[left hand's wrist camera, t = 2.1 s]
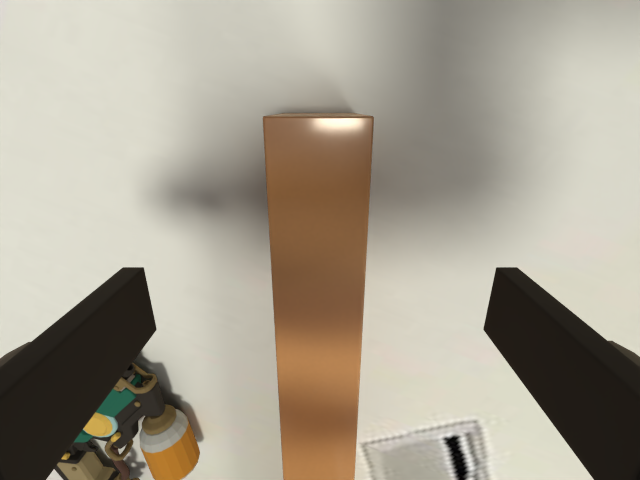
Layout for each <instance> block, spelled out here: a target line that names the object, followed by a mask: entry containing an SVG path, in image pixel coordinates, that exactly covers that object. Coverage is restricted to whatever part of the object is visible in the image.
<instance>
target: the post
mask: <svg viewBox="0 0 640 480" xmlns="http://www.w3.org/2000/svg"><path fill="white" fill-rule="evenodd" d="M373 123H374V118H373V116H368V115H362V114H356V113H282V114H275V115H269V116H264V117H263V131H264V148H265V166H266V183H267V200H268V218H269V235H270V253H271V270H272V288H273V305H274V323H275V340H276V357H277V375H278V392H279V410H280V427H281V445H282V462H283V480H354V476H355V457H356V439H357V420H358V402H359V383H360V364H361V346H362V327H363V309H364V290H365V271H366V253H367V234H368V216H369V197H370V179H371V160H372V141H373Z"/></svg>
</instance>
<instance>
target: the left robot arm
mask: <svg viewBox="0 0 640 480" xmlns="http://www.w3.org/2000/svg"><path fill="white" fill-rule="evenodd" d="M155 331H156V325H155V320H154V315H153V310H152V305H151V301H150V296H149V291H148V286H147V281H146V277H145V272H144V268H122V269H121V270H119V271H118V272H117V273H116V274H114V275H113V276H112V277H111V278H110V279H108V280H107V281H106V282H105V283H103V284H102V285H101V286H100V287H98V288H97V289H96V290H95V291H93V292H92V293H91V294H90V295H89V296H87V297H86V298H85V299H84V300H82V301H81V302H80V303H79V304H77V305H76V306H75V307H74V308H73V309H71V310H70V311H69V312H68V313H66V314H65V315H64V316H63V317H61V318H60V319H59V320H58V321H57V322H55V323H54V324H53V325H52V326H50V327H49V328H48V329H47V330H45V331H44V332H43V333H42V334H41V335H39V336H38V337H37V338H36V339H34V340H33V341H32V342H28V343H26V344H24V345H22V346H20V347H19V348H17V349H15V350H13V351H11V352H9V353H7V354H6V355H4V356H3V357H2V358H1V359H0V480H46V479H47V477H48V476H49V475H50V473H51V472H52V471H53V469H54V468H55V467H56V465H57V464H58V463H59V461H60V460H61V458H62V457H63V456H64V454H65V453H66V452H67V450H68V449H69V448H70V446H71V445H72V444H73V442H74V441H75V439H76V438H77V437H78V435H79V434H80V433H81V431H82V430H83V429H84V427H85V426H86V425H87V423H88V422H89V420H90V419H91V418H92V416H93V415H94V414H95V412H96V411H97V410H98V408H99V407H100V406H101V404H102V403H103V401H104V400H105V399H106V397H107V396H108V395H109V393H110V392H111V391H112V389H113V388H114V387H115V385H116V384H117V382H118V381H119V380H120V378H121V377H122V376H123V374H124V373H125V372H126V370H127V369H128V368H129V366H130V365H131V363H132V362H133V361H134V359H135V358H136V357H137V355H138V354H139V353H140V351H141V350H142V349H143V347H144V346H145V344H146V343H147V342H148V340H149V339H150V338H151V336H152V335H153V334H154V332H155ZM484 331H485V332H486V334H487V335H488V336H489V338H490V339H491V340H492V342H493V343H494V344H495V346H496V347H497V349H498V350H499V351H500V353H501V354H502V355H503V357H504V358H505V359H506V361H507V362H508V363H509V365H510V366H511V368H512V369H513V370H514V372H515V373H516V374H517V376H518V377H519V378H520V380H521V381H522V382H523V384H524V385H525V387H526V388H527V389H528V391H529V392H530V393H531V395H532V396H533V397H534V399H535V400H536V401H537V403H538V404H539V406H540V407H541V408H542V410H543V411H544V412H545V414H546V415H547V416H548V418H549V419H550V420H551V422H552V423H553V425H554V426H555V427H556V429H557V430H558V431H559V433H560V434H561V435H562V437H563V438H564V439H565V441H566V442H567V444H568V445H569V446H570V448H571V449H572V450H573V452H574V453H575V454H576V456H577V457H578V458H579V460H580V461H581V463H582V464H583V465H584V467H585V468H586V469H587V471H588V472H589V473H590V475H591V476H592V477H593V479H594V480H640V357H639V356H638V355H636V354H635V353H634V352H632V351H630V350H628V349H626V348H624V347H622V346H620V345H619V344H617V343H615V342H613V341H607V340H606V339H604V338H603V337H602V336H601V335H599V334H598V333H597V332H596V331H595V330H593V329H592V328H591V327H590V326H588V325H587V324H586V323H585V322H583V321H582V320H581V319H580V318H579V317H577V316H576V315H575V314H574V313H572V312H571V311H570V310H569V309H567V308H566V307H565V306H564V305H563V304H561V303H560V302H559V301H558V300H556V299H555V298H554V297H553V296H551V295H550V294H549V293H548V292H546V291H545V290H544V289H543V288H542V287H540V286H539V285H538V284H537V283H535V282H534V281H533V280H532V279H530V278H529V277H528V276H527V275H526V274H524V273H523V272H522V271H521V270H519V269H518V268H496V272H495V277H494V281H493V286H492V291H491V296H490V301H489V305H488V310H487V315H486V320H485V325H484Z"/></svg>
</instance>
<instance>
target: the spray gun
mask: <svg viewBox="0 0 640 480" xmlns="http://www.w3.org/2000/svg"><path fill="white" fill-rule="evenodd" d="M136 372H137V373H139V374H140V375H141V376H143V377H144V378H151V379H152V380H151V381H150V380H146V381H144V382H143V383H141V376H140V375H139V374H136V375H134V374H135V373H136ZM143 415H145V417H144V420H143V422H142V430H141V432H140V447H141V450H142V452H143V455H144V457H145V459H146V462H147V464H148V466H149V469H150V471H151V474H152V476H153V478H154V479H155V480H182V479H183V478H185V477H186V476H187V475H188V474H189V473H190V472H191V471H192V470H193V469H194V467H195V466H196V464H197V463H198V459H199V455H200V451H199V447H198V444H197V442H196V439H195V436H194V434H193V431H192V429H191V426H190V424H189V421H188V418H187V417H186V415H185V414H184V413H183V412H181V411H180V410H178V409H175V408H174V407H173V406H172V405H165V403H164V400H163V397H162V394H161V390H160V387H159V384H158V382H157V377H156V375H155V374H152V373H150V374H148V373H146V372H145V371H144V370H142V369H141V368H139V367H138V366H137V365H135V364H134V363H133V362H132V363H131V365H130V366H129V368H128V369H127V370H126V372H125V373H124V374H123V376H122V377H121V378H120V380H119V381H118V382H117V384H116V385H115V387H114V388H113V389H112V391H111V392H110V393H109V395H108V396H107V397H106V399H105V400H104V401H103V403H102V404H101V406H100V407H99V408H98V410H97V411H96V412H95V414H94V415H93V416H92V418H91V419H90V420H89V422H88V423H87V425H86V426H85V427H84V429H83V430H82V431H81V433H80V434H79V435H78V437H77V438H76V439H75V441H74V442H73V444H72V445H71V446H70V448H69V449H68V450H67V452H66V453H65V454H64V456H63V457H62V458H61V460H60V461H59V463H58V464H57V465H56V467H55V468H54V469H55V470H56V471H57V473H58V474H59V475H60V476H61V477H62V478H63V480H131V479H130V478H129V474H130V471H129V468H128V466H127V465H126V464H125V462H124V461H123V458H124V457H125V456H126V455H127V454H128V452H129V451H130V449H131V447H132V445H133V440H132V439H133V438H134V437H135V435H136V434H137V432H138V430H139V429H138V420H139V419H140V418H141V417H142V416H143ZM91 438H94V439H98V440H102V441H107V443H106V446H105V451H106V453H107V455H108V456H109V457H110V458H111V459H112V461H113V463H114V464H115V466H116V467H117V469H118V470H119V471H120V472H121V473H118V472H117V471H116V470H115V469H114V468H112V467H105V466H103V464H102V463H101V462H100V460H99V459H98V457H97V455H96V454H95V452H96V451H97V450H98V447H96V446H94V445H92V442H90V439H91ZM126 444H127V446H126V448H125V449H124V451H123V452H122V453H121V454H120V455H119V452H118V448H119V449H120V448H122V447H123V446H125V445H126ZM132 480H140V479H139V478H133V479H132Z"/></svg>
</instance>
